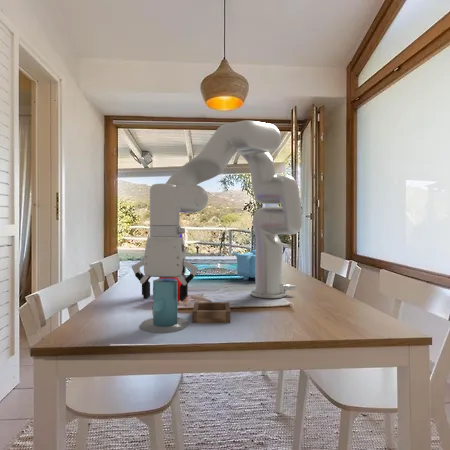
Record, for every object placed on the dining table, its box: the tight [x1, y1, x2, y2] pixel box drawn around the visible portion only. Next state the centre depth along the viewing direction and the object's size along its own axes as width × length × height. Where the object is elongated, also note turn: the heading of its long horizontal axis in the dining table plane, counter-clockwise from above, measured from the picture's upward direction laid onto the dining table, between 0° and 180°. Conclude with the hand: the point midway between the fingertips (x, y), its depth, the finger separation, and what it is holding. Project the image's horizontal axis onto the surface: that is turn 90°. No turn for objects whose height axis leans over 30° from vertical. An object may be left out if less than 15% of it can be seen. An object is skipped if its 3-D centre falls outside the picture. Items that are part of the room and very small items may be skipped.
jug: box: [152, 278, 179, 327], centre depth 92 cm, size 10×6×11 cm, turn 171°
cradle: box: [191, 301, 231, 324], centre depth 102 cm, size 10×10×4 cm
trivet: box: [140, 316, 189, 334], centre depth 94 cm, size 12×12×1 cm
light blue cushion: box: [232, 249, 256, 281], centre depth 165 cm, size 18×16×13 cm
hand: (164, 298), depth 94 cm, fingers open, 9 cm apart
